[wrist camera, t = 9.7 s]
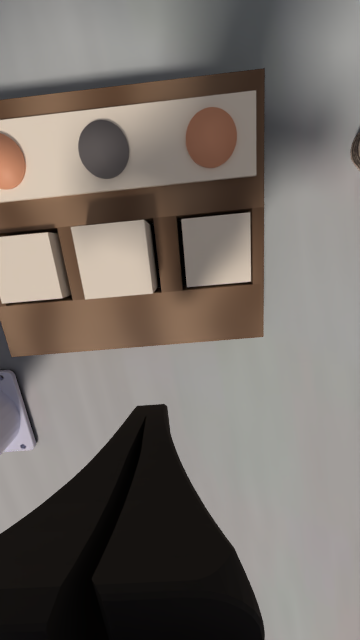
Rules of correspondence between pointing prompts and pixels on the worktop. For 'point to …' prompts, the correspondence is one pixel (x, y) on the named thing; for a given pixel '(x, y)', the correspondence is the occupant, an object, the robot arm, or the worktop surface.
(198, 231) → the key
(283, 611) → the worktop surface
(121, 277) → the key
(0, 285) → the key
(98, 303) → the button board
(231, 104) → the pattern card
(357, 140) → the lighter
